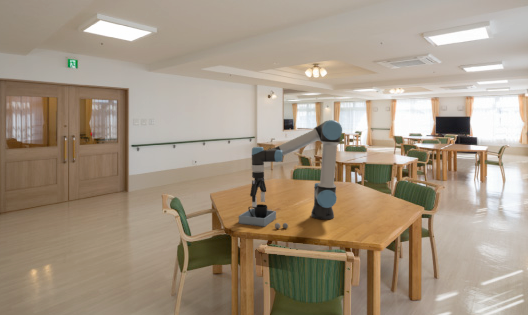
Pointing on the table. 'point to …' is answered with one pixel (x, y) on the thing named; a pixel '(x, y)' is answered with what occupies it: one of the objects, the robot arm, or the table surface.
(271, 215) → the bin
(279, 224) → the pebble
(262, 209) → the mug
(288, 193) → the table surface
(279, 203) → the table surface
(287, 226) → the pebble
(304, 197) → the table surface
